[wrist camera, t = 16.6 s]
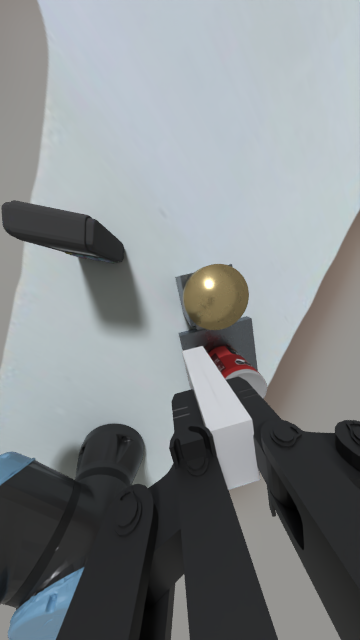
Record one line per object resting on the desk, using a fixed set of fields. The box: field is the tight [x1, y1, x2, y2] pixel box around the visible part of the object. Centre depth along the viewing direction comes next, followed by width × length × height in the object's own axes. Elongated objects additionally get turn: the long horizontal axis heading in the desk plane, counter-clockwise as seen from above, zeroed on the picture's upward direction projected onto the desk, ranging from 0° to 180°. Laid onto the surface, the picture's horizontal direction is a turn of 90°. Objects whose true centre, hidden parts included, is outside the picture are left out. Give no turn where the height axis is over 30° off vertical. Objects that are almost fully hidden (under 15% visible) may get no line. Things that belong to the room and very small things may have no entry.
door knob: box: [183, 264, 249, 330], centre depth 28 cm, size 9×9×10 cm
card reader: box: [2, 201, 124, 263], centre depth 25 cm, size 9×4×15 cm, turn 81°
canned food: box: [208, 346, 267, 399], centre depth 32 cm, size 8×8×11 cm
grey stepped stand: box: [175, 264, 258, 371], centre depth 33 cm, size 16×28×10 cm, turn 13°
